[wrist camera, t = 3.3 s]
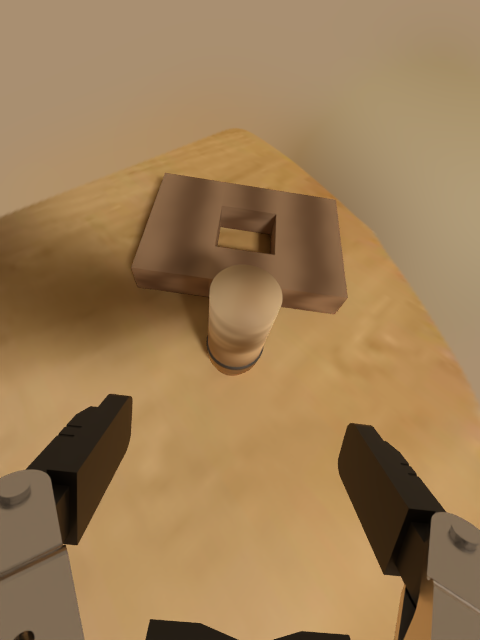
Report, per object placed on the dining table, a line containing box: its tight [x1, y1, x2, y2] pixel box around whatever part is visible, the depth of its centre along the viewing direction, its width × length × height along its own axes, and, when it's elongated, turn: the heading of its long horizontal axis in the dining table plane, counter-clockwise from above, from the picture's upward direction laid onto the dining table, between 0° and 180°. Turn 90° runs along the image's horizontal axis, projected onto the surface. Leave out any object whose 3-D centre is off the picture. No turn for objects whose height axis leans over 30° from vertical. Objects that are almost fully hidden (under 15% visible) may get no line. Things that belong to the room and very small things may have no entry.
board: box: [131, 173, 348, 314], centre depth 31 cm, size 20×14×3 cm
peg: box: [207, 265, 282, 376], centre depth 22 cm, size 5×5×10 cm
